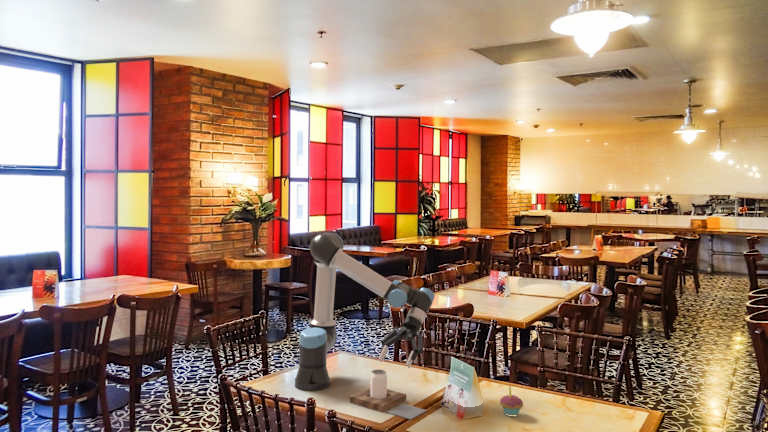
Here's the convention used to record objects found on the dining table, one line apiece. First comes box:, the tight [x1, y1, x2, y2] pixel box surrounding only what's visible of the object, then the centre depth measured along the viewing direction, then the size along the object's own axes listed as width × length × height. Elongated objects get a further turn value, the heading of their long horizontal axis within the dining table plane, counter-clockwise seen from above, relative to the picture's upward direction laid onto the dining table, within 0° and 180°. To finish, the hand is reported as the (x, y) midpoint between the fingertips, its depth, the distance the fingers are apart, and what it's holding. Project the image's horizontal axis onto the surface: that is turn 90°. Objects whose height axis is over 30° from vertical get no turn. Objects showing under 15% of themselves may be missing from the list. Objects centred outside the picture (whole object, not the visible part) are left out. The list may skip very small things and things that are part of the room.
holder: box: [349, 387, 407, 413], centre depth 227 cm, size 16×16×2 cm
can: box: [369, 369, 388, 400], centre depth 227 cm, size 6×6×12 cm
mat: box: [386, 403, 428, 421], centre depth 217 cm, size 11×11×1 cm
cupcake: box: [499, 385, 524, 415], centre depth 216 cm, size 9×8×12 cm
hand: (393, 363), depth 234 cm, fingers open, 13 cm apart
